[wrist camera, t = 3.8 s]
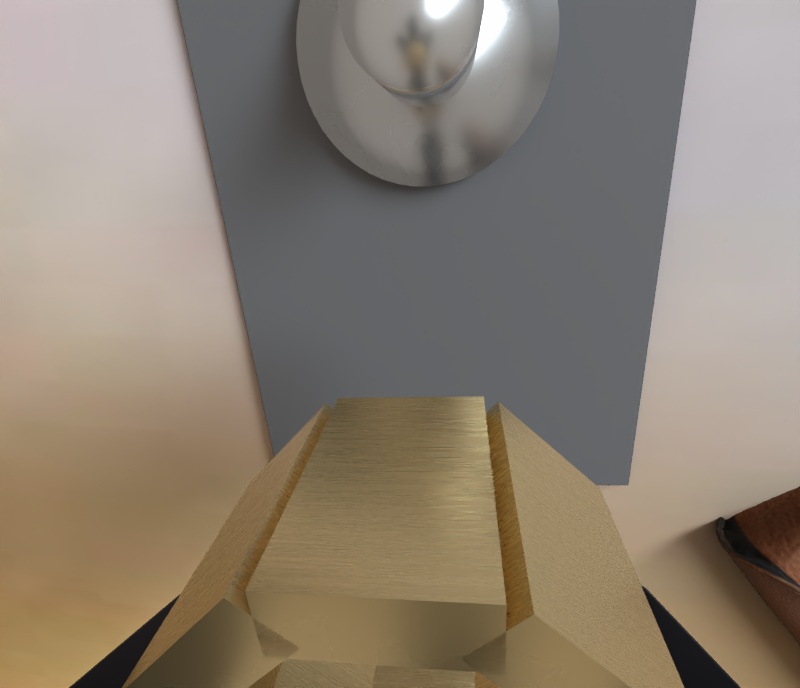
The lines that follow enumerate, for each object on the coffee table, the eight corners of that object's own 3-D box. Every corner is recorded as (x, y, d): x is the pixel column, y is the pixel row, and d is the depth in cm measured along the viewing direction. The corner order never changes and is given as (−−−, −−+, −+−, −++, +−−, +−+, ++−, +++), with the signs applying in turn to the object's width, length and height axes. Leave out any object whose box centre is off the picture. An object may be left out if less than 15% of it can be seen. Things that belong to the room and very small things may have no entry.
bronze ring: (584, 668, 10) (654, 953, 7) (286, 648, 11) (204, 888, 8) (617, 395, 8) (763, 617, 4) (225, 398, 9) (52, 581, 5)
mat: (625, 479, 20) (628, 485, 20) (281, 474, 23) (278, 479, 22) (717, -196, 12) (725, -207, 12) (161, -102, 14) (154, -109, 14)
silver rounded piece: (547, 176, 16) (587, 186, 11) (321, 192, 17) (268, 208, 12) (561, -130, 13) (625, -301, 8) (285, -87, 14) (194, -215, 9)
